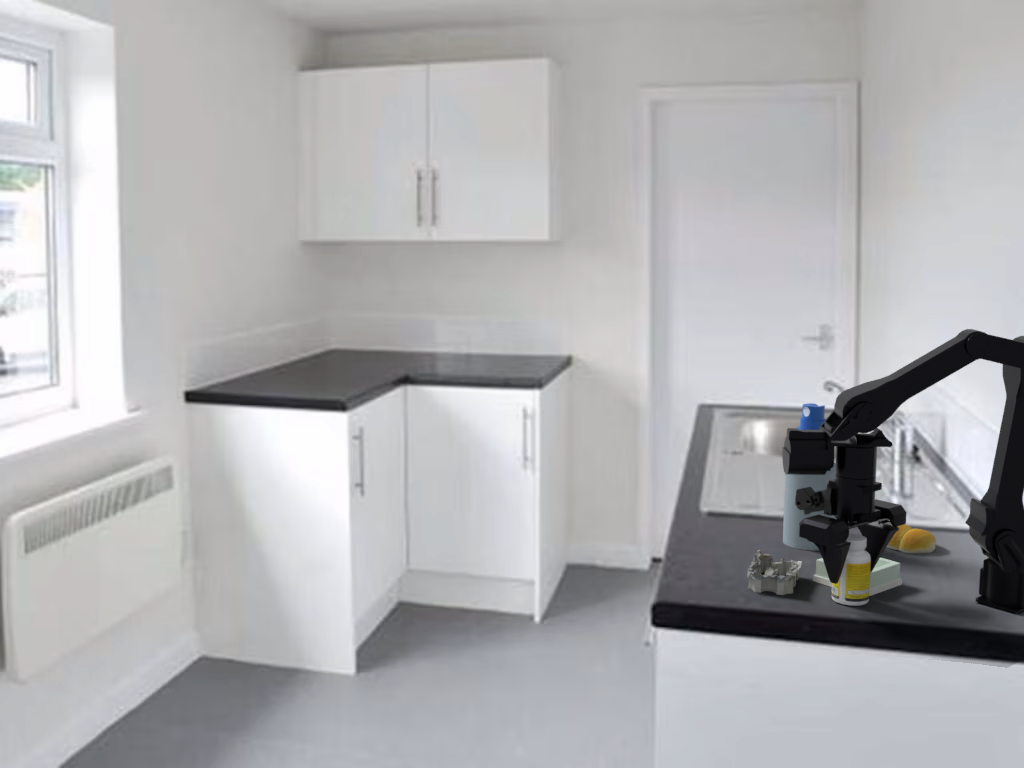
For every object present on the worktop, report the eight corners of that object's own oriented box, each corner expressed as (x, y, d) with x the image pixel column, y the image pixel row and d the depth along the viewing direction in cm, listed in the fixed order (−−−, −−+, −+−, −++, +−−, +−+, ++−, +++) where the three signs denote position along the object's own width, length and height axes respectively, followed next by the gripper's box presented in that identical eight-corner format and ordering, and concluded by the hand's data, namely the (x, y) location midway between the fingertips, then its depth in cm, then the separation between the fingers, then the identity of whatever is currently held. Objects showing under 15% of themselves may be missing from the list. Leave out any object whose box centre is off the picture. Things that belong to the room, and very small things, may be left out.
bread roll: (922, 558, 173) (923, 535, 173) (873, 546, 180) (874, 524, 180) (945, 548, 179) (946, 526, 178) (897, 537, 185) (898, 516, 185)
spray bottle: (807, 553, 176) (812, 410, 172) (772, 539, 184) (776, 402, 180) (845, 545, 180) (851, 405, 176) (809, 533, 188) (814, 398, 184)
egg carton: (757, 572, 167) (757, 547, 167) (804, 578, 164) (804, 553, 164) (742, 592, 158) (742, 566, 157) (791, 598, 155) (792, 572, 154)
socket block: (901, 584, 160) (902, 563, 159) (865, 597, 154) (866, 575, 154) (849, 569, 167) (850, 548, 167) (813, 581, 162) (813, 559, 161)
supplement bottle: (875, 600, 153) (878, 537, 152) (857, 609, 149) (860, 544, 148) (842, 591, 157) (845, 529, 156) (824, 600, 153) (826, 537, 152)
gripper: (847, 457, 162) (843, 552, 165) (770, 474, 151) (767, 575, 154) (910, 469, 153) (905, 570, 156) (834, 488, 142) (830, 596, 145)
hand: (851, 577), depth 153 cm, fingers open, 8 cm apart
